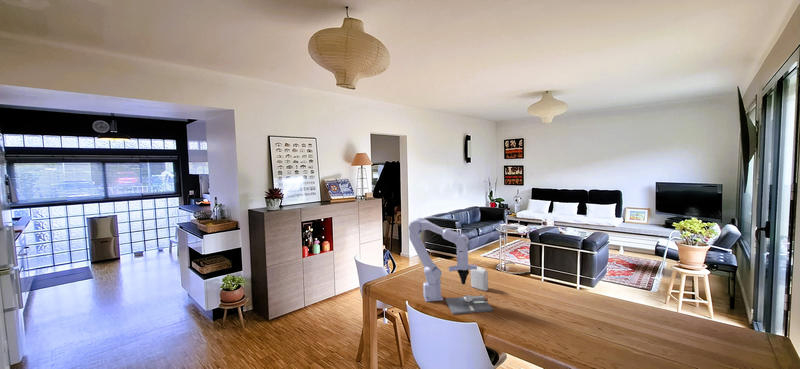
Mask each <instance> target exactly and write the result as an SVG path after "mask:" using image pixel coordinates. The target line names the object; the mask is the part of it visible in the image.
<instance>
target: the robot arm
mask: <svg viewBox="0 0 800 369" xmlns="http://www.w3.org/2000/svg"><path fill="white" fill-rule="evenodd" d="M426 230H427V231H431V232H433V233H435V234H438V235H441V236H442V239H444V240H446V241H448V242H451V243H453V244H455V246H456V265H452V266H448V272H451V273H452V272H457V273H458V275H459V278H460V283H461V284H462V285H466V281H467V278H468V275H469V274H470V271H471V270H472V269H475V270H477V267H478V265H477V264H469V250H468V249H469V248H468V244H469V237H468V236H467V235H466V234H465V233H461V232H457V231H454V230H453V228H442V227H441V226H439V225H436V224H435V223H432V222H431V221H429V220H427V219H424V218H423V217H418V218H417V219H415V220H412V221H410V223H409V225H408V234H409V236H408V238H409V240H410V242H411V244H412V246H413V248H414V250H415V252H416V254H417V256H418V258H419V260H420V262H421V264H422V266H423V273H424V276H425V282H423V283H422V285H423V286H422V288H423V291H422V292H423V293H422V294H423V298H424V300H425V302H437V301H444V298H443V296H442V287H441V285H442V283H441V279H440V278H441V276H442V275H443V274H442V273H443V272H442V270H441V269H440V268H439V267H438V266H437V264H436V263H434V262H433V260H432V258H431V256H430V254H429V253H428V250H427V249H426V247H425V245H424V243H423V241H422V239H421V234H422V232H423V231H426Z"/></svg>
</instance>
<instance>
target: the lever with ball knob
mask: <svg viewBox="0 0 800 369" xmlns="http://www.w3.org/2000/svg"><path fill="white" fill-rule="evenodd" d="M462 297H463V302H465V303H472V302H473V301H487V302H488V301H489V296H488V294H483V295H482V296H481V295H469V294H467V295H463V296H462Z"/></svg>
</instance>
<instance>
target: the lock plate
mask: <svg viewBox="0 0 800 369" xmlns="http://www.w3.org/2000/svg"><path fill="white" fill-rule="evenodd" d="M480 296H483V295H480ZM444 301H445V302H446V305H447V306H448V308H449V310H450V312H451V313H452V315H462V314H463V315H464V314H472V313H473V314H474V313H475V312H476V313H483V312H484V313H485V312H494V308H493V307H492V306H491V304H489V302H488V301H473V302H472V303H465V302H463V296H460V297H459V296H457V297H450V298H449V297H448V298H444Z"/></svg>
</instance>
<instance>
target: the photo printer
mask: <svg viewBox="0 0 800 369" xmlns="http://www.w3.org/2000/svg"><path fill="white" fill-rule="evenodd" d="M488 275H489V274H488V270H487V269H485V268H484V267H481V266H477V270H475V269H472V270H470V285H471V288H474V289H477V290H481V291H483V292H487V291H488V290H489V276H488Z"/></svg>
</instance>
